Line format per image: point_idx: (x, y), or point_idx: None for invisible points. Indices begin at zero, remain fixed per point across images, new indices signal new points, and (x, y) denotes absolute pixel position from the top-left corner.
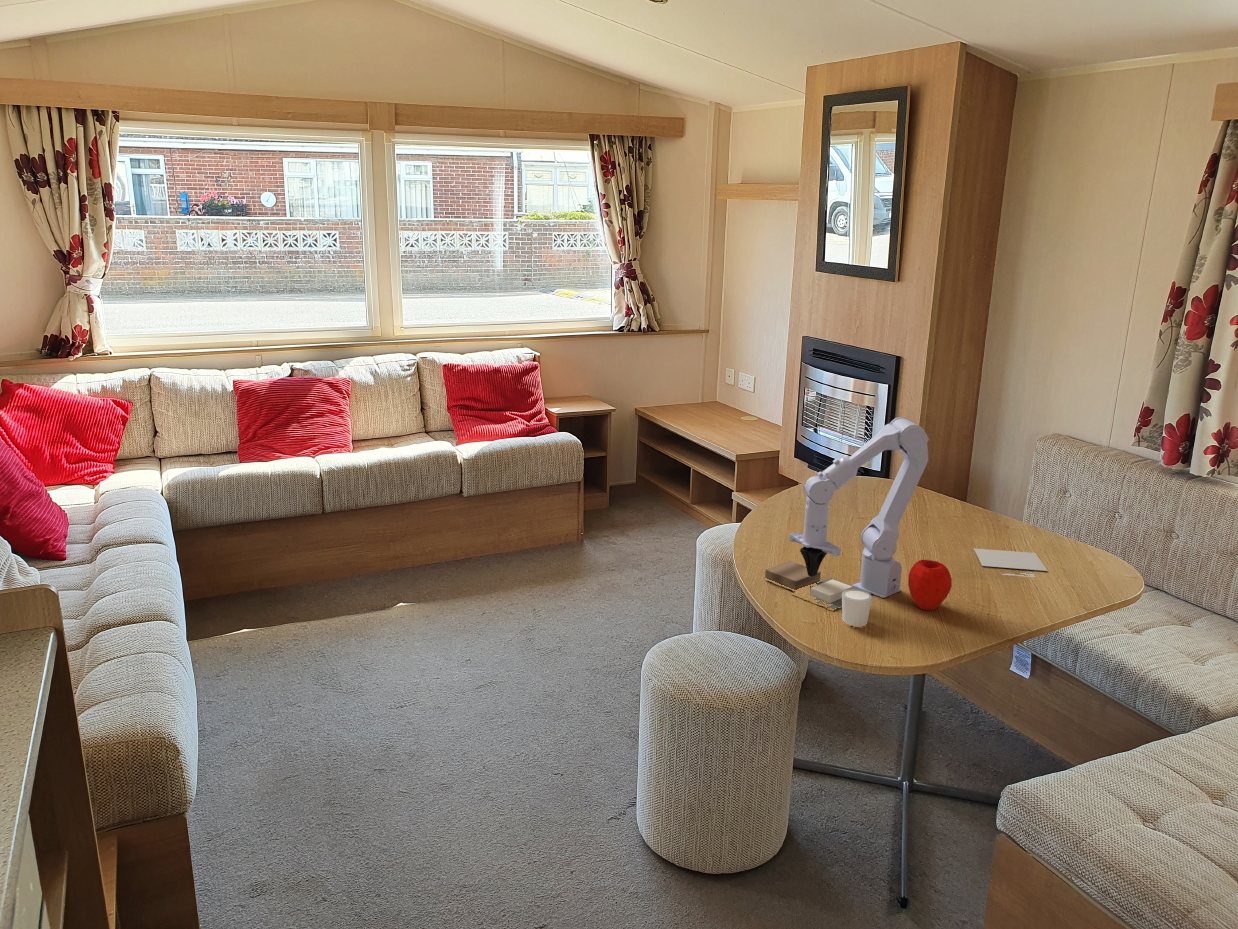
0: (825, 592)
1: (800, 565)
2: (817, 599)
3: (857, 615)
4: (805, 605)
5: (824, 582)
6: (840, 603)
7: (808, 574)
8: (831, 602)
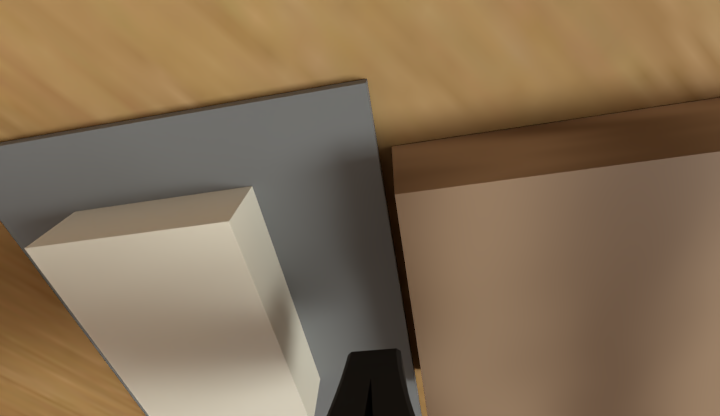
0: (100, 260)
1: None
2: (160, 182)
3: None
4: (118, 31)
5: None
6: None
7: (386, 355)
8: None
